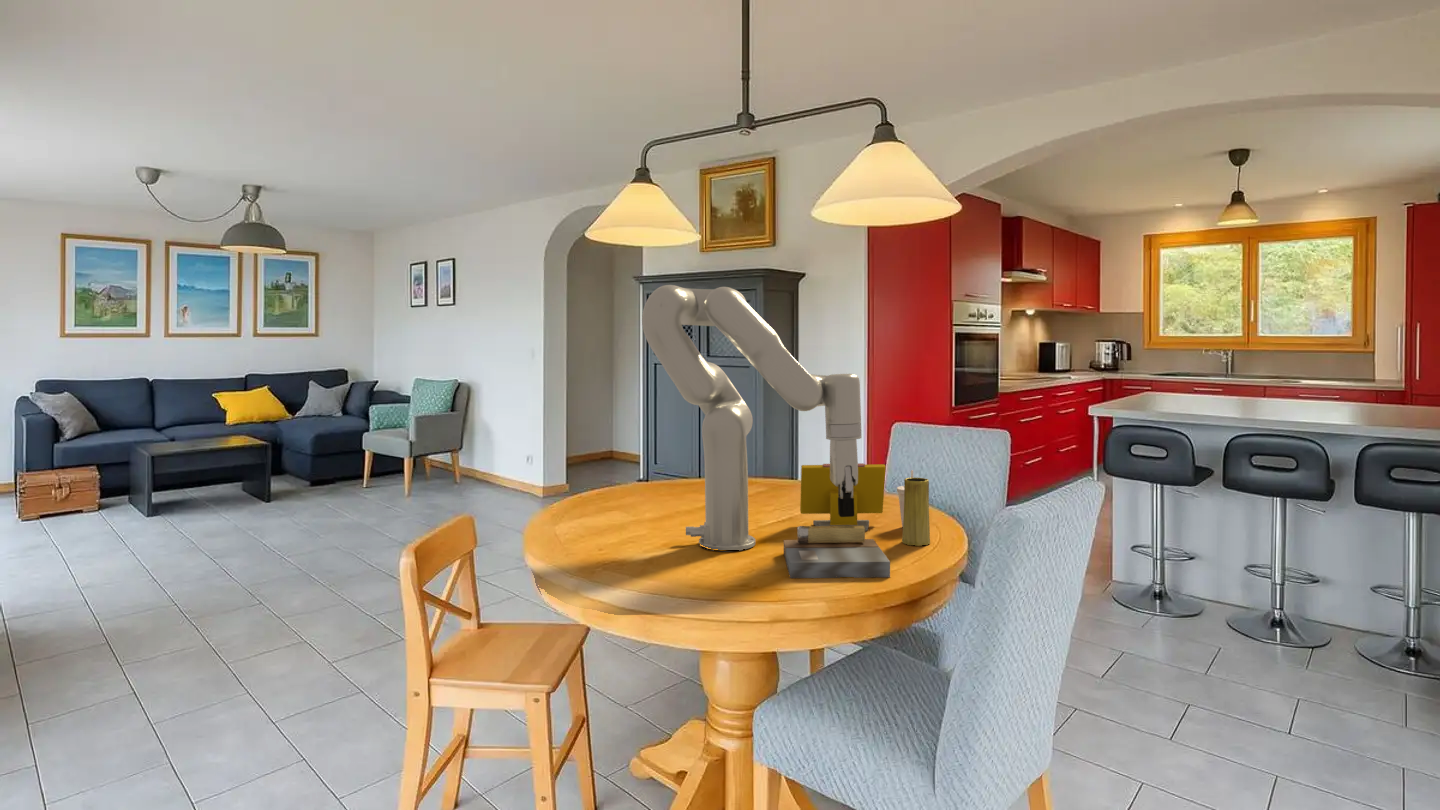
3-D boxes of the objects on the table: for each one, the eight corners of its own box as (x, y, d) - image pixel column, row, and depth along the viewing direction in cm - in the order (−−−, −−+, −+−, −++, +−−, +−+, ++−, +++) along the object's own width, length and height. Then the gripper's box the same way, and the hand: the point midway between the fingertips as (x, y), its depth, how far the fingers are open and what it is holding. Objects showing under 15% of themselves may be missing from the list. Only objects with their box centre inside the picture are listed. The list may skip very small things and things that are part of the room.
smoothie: (908, 532, 181) (909, 473, 180) (890, 526, 187) (891, 469, 186) (929, 528, 184) (930, 470, 183) (911, 523, 190) (911, 467, 189)
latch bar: (798, 543, 159) (798, 528, 159) (797, 540, 162) (796, 526, 162) (865, 542, 159) (865, 528, 159) (862, 539, 162) (862, 525, 162)
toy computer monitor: (881, 523, 190) (881, 460, 189) (887, 531, 182) (887, 465, 181) (800, 524, 191) (799, 461, 190) (802, 531, 183) (802, 466, 182)
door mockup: (790, 578, 147) (790, 562, 147) (783, 553, 164) (783, 539, 164) (890, 577, 147) (890, 561, 146) (873, 553, 164) (873, 538, 163)
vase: (931, 547, 168) (931, 482, 167) (902, 545, 169) (902, 481, 168) (929, 539, 174) (929, 477, 173) (901, 538, 175) (901, 476, 174)
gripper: (821, 428, 173) (824, 509, 174) (830, 436, 158) (833, 524, 159) (855, 427, 173) (857, 508, 174) (867, 434, 158) (870, 523, 159)
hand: (846, 515), depth 166 cm, fingers closed
